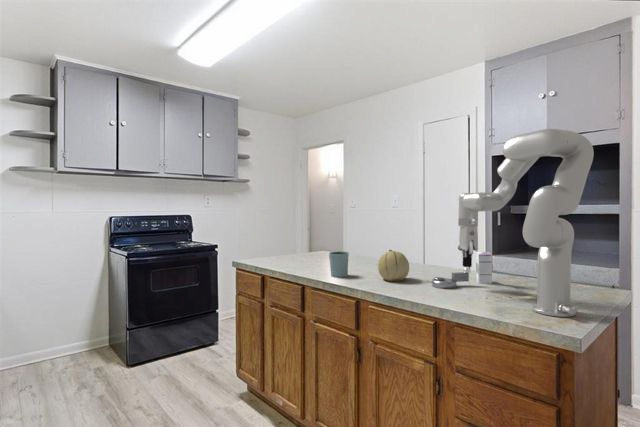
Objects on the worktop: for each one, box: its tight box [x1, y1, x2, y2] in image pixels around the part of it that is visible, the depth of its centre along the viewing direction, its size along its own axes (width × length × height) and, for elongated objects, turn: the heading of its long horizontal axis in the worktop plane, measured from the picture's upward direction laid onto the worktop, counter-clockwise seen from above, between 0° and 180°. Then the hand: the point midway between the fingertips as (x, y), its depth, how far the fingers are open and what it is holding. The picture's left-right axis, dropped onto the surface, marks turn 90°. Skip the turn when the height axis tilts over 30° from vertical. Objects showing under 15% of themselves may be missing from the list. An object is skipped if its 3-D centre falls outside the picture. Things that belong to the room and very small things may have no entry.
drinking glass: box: [328, 251, 349, 278], centre depth 193 cm, size 10×10×12 cm
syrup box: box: [475, 251, 493, 285], centre depth 169 cm, size 6×6×14 cm
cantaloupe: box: [377, 249, 410, 282], centre depth 177 cm, size 15×15×15 cm
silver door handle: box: [431, 267, 471, 290], centre depth 162 cm, size 17×10×8 cm, turn 96°
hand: (467, 266), depth 157 cm, fingers closed
